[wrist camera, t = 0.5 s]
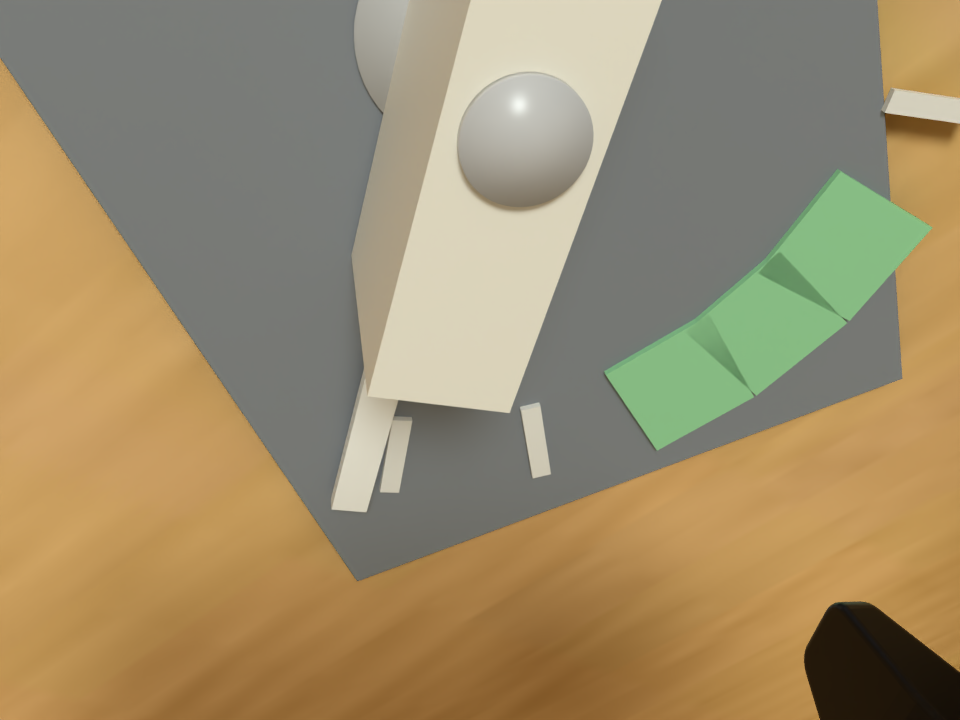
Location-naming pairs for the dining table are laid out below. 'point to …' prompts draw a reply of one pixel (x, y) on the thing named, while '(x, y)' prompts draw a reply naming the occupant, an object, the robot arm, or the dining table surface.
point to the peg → (477, 200)
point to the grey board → (587, 270)
